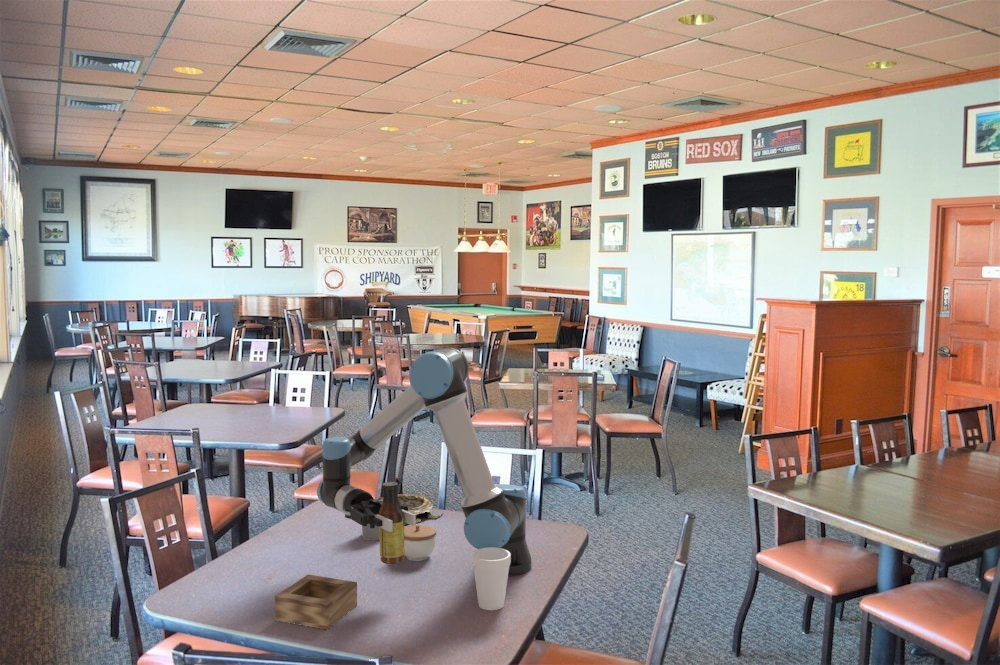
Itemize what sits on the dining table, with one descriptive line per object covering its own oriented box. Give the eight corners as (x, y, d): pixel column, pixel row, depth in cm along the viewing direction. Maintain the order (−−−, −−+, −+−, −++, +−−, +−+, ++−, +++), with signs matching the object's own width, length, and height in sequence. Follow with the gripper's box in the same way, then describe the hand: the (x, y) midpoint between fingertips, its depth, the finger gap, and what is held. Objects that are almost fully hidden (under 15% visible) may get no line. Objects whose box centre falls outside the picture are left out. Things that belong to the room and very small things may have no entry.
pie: (346, 520, 259) (346, 505, 259) (386, 499, 285) (386, 486, 284) (421, 531, 249) (421, 515, 249) (456, 508, 275) (456, 494, 274)
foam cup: (496, 616, 187) (497, 563, 186) (465, 607, 192) (465, 556, 191) (517, 602, 195) (517, 551, 194) (486, 593, 200) (486, 544, 199)
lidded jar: (413, 566, 218) (412, 534, 217) (391, 556, 226) (391, 524, 225) (443, 557, 225) (443, 526, 224) (421, 547, 233) (421, 517, 232)
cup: (383, 541, 239) (383, 509, 238) (358, 539, 240) (358, 507, 239) (392, 532, 247) (392, 501, 246) (368, 530, 248) (368, 499, 248)
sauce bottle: (409, 560, 197) (409, 483, 195) (390, 567, 192) (390, 488, 190) (393, 554, 201) (393, 478, 200) (374, 560, 196) (373, 483, 195)
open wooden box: (357, 605, 193) (357, 582, 192) (326, 630, 179) (326, 605, 179) (308, 597, 197) (308, 574, 197) (275, 620, 184) (274, 596, 184)
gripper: (385, 508, 216) (434, 529, 198) (322, 523, 203) (369, 547, 186) (385, 482, 215) (434, 501, 198) (322, 495, 203) (369, 516, 185)
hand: (402, 523), depth 192 cm, fingers closed on sauce bottle, 6 cm apart
